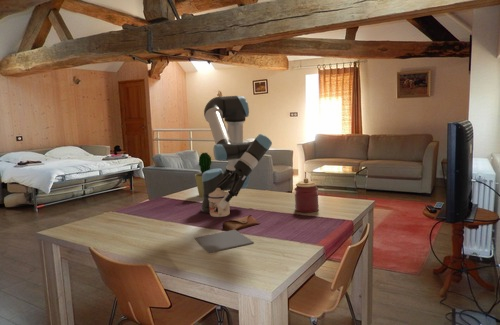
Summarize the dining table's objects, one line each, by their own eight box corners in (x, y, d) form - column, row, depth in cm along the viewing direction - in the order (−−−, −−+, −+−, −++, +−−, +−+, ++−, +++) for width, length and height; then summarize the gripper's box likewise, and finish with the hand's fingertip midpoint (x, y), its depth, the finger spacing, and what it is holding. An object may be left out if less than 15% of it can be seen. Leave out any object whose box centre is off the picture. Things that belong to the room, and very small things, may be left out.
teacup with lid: (205, 214, 165) (203, 188, 163) (223, 210, 170) (221, 185, 168) (220, 220, 155) (218, 192, 154) (238, 215, 161) (236, 188, 159)
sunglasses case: (232, 232, 176) (227, 218, 177) (225, 236, 181) (220, 223, 183) (261, 223, 187) (256, 211, 188) (254, 227, 192) (249, 215, 194)
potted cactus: (209, 199, 245) (206, 153, 240) (191, 197, 253) (188, 152, 249) (223, 193, 257) (220, 150, 253) (206, 192, 266) (203, 150, 262)
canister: (311, 205, 216) (311, 175, 213) (323, 210, 204) (322, 178, 201) (291, 208, 212) (290, 177, 209) (301, 214, 200) (300, 181, 197)
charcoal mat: (194, 238, 169) (194, 237, 169) (235, 230, 178) (235, 229, 178) (209, 253, 151) (209, 251, 151) (253, 243, 160) (253, 241, 160)
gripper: (264, 173, 156) (232, 215, 152) (240, 167, 177) (212, 203, 173) (251, 162, 153) (219, 204, 149) (229, 157, 174) (200, 194, 170)
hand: (215, 204), depth 161 cm, fingers closed on teacup with lid, 12 cm apart
